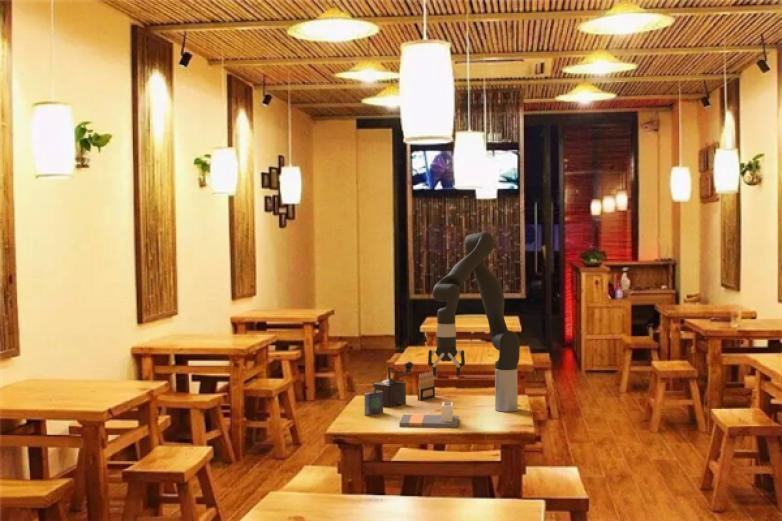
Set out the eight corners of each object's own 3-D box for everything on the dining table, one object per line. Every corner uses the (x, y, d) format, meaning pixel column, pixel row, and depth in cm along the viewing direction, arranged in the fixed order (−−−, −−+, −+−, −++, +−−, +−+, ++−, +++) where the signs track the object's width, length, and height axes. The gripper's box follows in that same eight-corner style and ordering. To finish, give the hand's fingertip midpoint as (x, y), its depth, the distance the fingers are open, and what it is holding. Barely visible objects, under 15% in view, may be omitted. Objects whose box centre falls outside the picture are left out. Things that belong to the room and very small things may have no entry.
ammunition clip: (420, 400, 410) (420, 373, 409) (417, 400, 411) (417, 373, 410) (435, 397, 418) (435, 370, 418) (431, 396, 419) (431, 370, 419)
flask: (366, 416, 379) (366, 389, 379) (362, 414, 381) (362, 388, 381) (384, 413, 385) (384, 387, 384) (380, 411, 387) (380, 386, 387)
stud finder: (453, 417, 368) (452, 401, 367) (452, 421, 360) (451, 405, 359) (442, 417, 368) (442, 401, 368) (441, 421, 360) (441, 405, 360)
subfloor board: (458, 419, 371) (458, 415, 371) (456, 427, 356) (456, 423, 356) (403, 418, 374) (403, 414, 373) (399, 426, 359) (399, 422, 359)
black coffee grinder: (390, 408, 395) (390, 365, 394) (372, 404, 402) (372, 363, 402) (415, 402, 406) (415, 361, 405) (397, 399, 413) (397, 359, 413)
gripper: (465, 334, 366) (465, 375, 366) (428, 333, 367) (429, 374, 368) (464, 336, 358) (464, 378, 359) (427, 336, 360) (427, 378, 361)
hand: (446, 376), depth 363 cm, fingers open, 8 cm apart
